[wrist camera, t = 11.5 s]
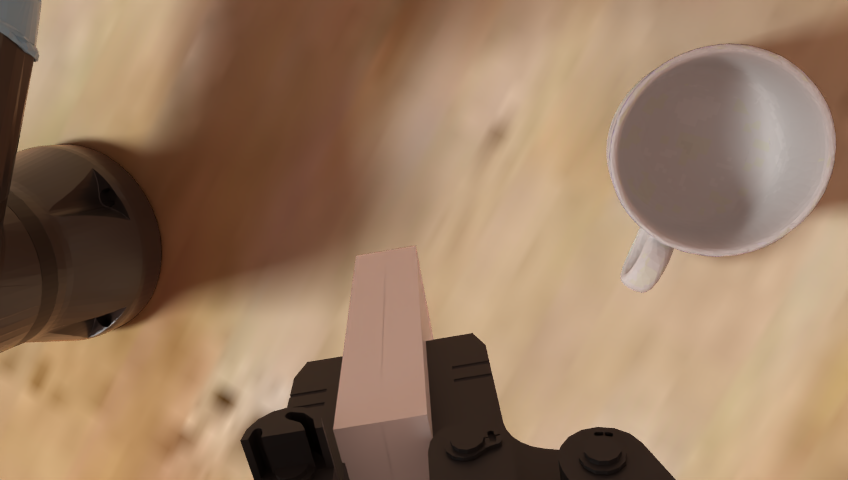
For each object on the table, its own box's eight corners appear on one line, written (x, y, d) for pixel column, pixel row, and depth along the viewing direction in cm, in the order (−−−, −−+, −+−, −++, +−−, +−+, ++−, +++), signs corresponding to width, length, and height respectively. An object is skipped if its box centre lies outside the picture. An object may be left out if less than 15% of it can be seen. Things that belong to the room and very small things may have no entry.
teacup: (683, 19, 40) (707, -2, 32) (833, 128, 39) (893, 133, 32) (538, 200, 44) (529, 220, 36) (671, 302, 43) (690, 344, 36)
